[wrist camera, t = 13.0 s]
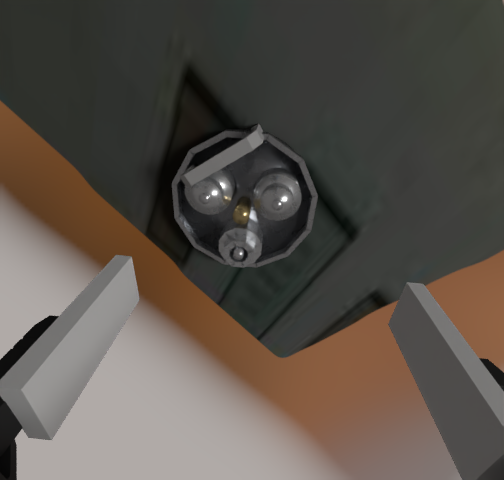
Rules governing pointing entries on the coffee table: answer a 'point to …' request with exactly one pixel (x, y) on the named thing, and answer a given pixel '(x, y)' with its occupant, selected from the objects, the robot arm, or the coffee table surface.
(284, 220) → the carrier
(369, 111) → the coffee table surface
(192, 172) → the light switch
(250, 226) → the grey nut
